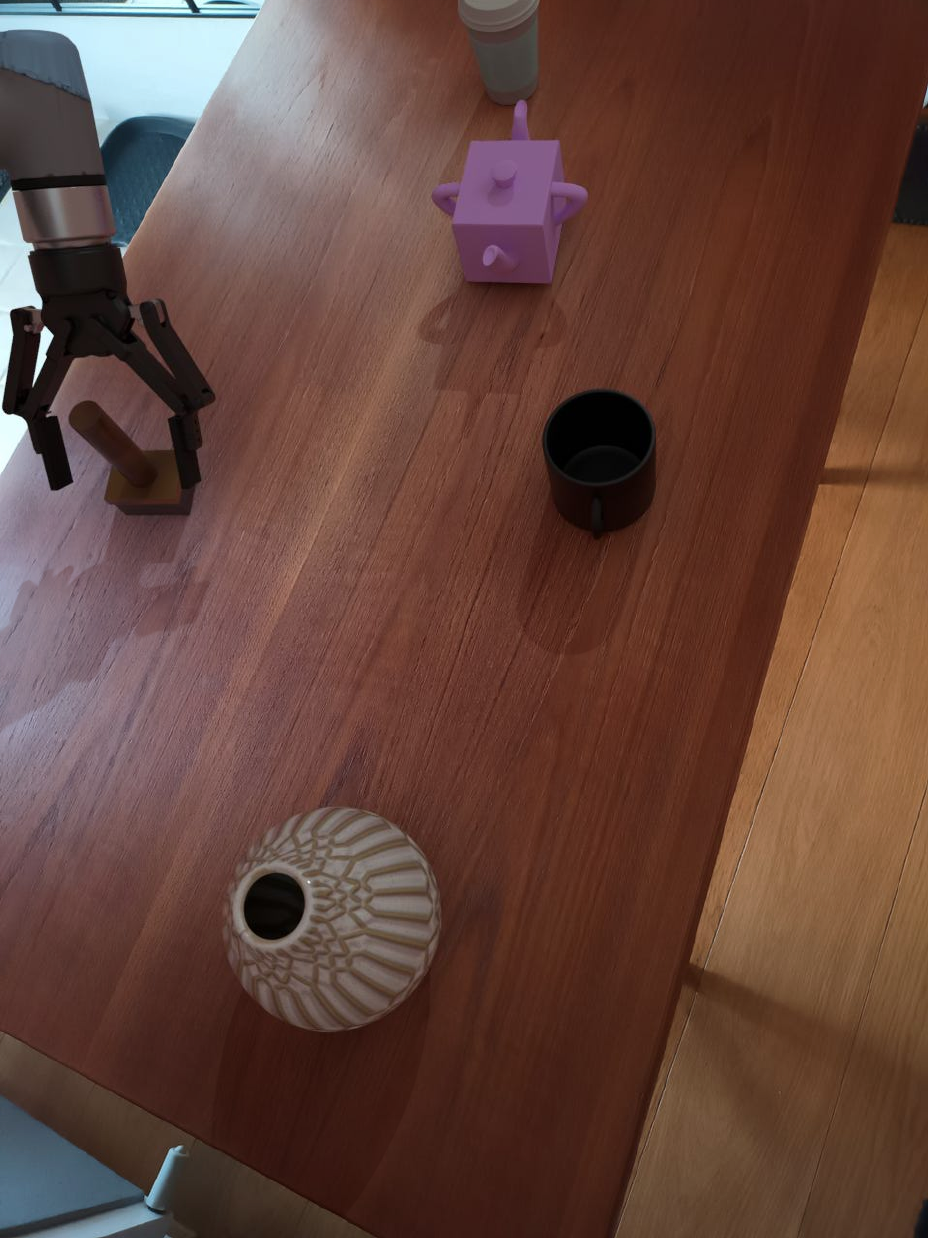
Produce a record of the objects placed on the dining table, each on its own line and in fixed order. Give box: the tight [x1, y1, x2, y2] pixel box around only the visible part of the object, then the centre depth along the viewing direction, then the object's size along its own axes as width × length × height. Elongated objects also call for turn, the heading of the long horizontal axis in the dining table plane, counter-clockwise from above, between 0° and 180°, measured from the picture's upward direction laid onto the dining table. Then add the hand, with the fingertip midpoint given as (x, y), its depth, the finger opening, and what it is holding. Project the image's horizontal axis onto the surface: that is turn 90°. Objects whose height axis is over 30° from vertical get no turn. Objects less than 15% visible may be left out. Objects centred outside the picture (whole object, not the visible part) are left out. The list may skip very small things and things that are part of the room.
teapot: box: [431, 100, 589, 285], centre depth 94 cm, size 15×13×11 cm
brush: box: [67, 399, 197, 516], centre depth 90 cm, size 7×5×14 cm
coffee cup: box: [457, 0, 541, 106], centre depth 102 cm, size 8×8×12 cm
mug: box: [541, 388, 657, 541], centre depth 83 cm, size 9×12×9 cm
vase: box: [221, 806, 443, 1033], centre depth 69 cm, size 16×16×20 cm
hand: (126, 486), depth 90 cm, fingers open, 13 cm apart
